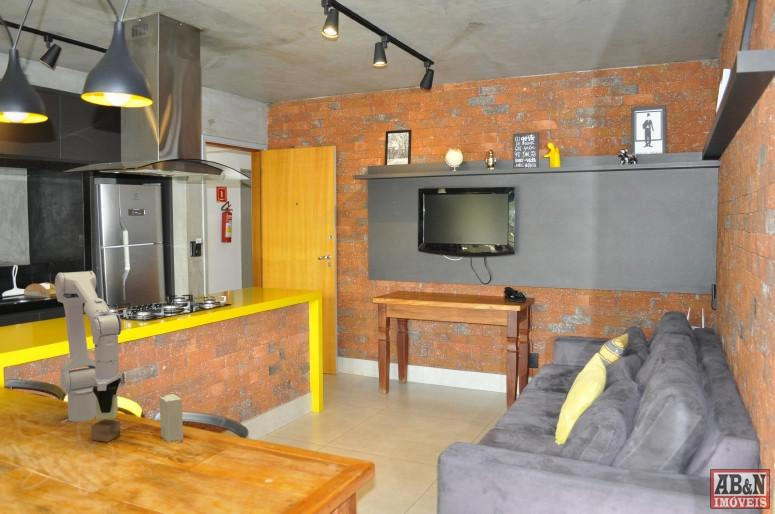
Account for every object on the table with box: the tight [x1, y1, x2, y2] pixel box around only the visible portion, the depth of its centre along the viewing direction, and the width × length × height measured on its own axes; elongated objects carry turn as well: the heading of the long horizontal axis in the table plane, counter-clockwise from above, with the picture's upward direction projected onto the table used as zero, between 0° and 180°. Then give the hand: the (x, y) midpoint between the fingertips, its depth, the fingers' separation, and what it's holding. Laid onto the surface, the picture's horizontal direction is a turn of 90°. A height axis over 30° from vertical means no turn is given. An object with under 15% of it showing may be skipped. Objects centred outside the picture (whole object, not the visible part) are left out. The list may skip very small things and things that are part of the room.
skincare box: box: [158, 393, 184, 445], centre depth 165 cm, size 6×4×12 cm
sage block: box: [95, 394, 119, 420], centre depth 164 cm, size 4×4×5 cm
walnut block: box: [90, 419, 121, 443], centre depth 164 cm, size 5×5×4 cm
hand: (107, 409), depth 164 cm, fingers closed on sage block, 4 cm apart
